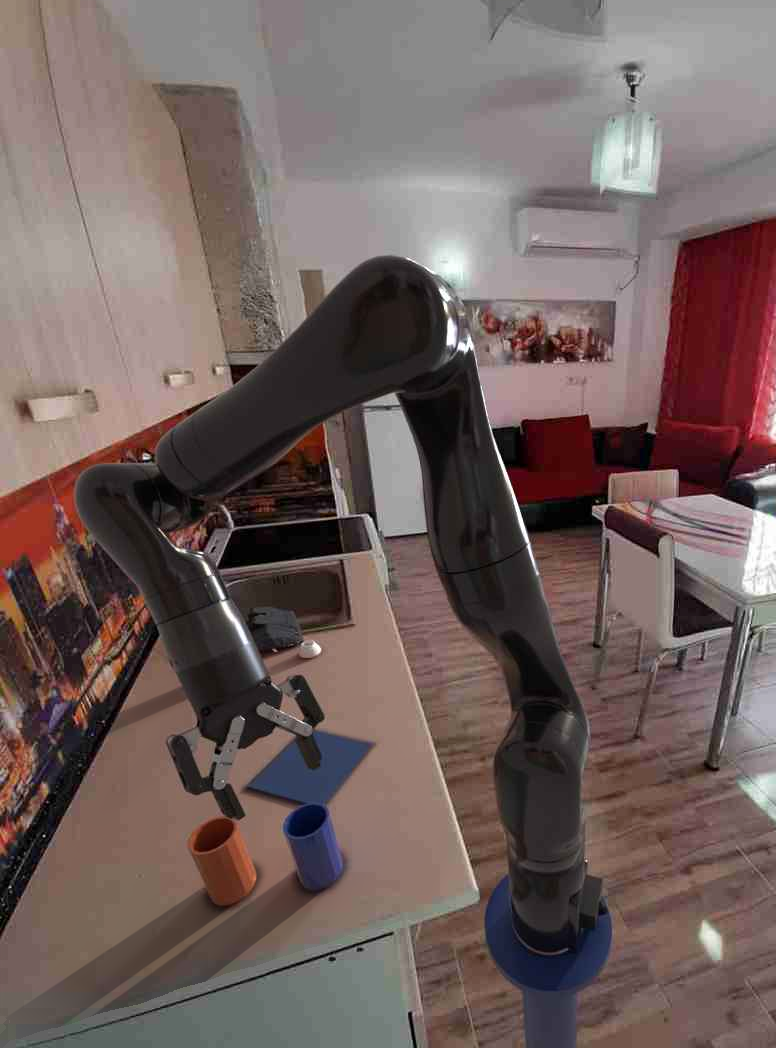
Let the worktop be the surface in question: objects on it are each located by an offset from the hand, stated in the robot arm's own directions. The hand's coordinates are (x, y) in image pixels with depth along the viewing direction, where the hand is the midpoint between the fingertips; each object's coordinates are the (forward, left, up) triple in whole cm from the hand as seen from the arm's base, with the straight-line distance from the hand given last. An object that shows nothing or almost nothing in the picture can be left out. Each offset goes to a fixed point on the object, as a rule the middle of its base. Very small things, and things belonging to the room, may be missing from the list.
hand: (279, 791), depth 54 cm
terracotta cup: (+16, -1, -24) cm, 29 cm away
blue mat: (+20, -23, -24) cm, 39 cm away
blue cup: (+6, -7, -24) cm, 25 cm away
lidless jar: (+45, -54, -24) cm, 74 cm away
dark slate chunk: (+62, -59, -24) cm, 89 cm away
